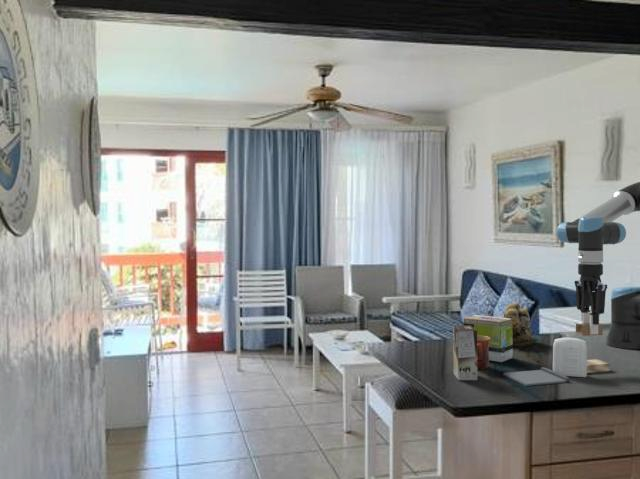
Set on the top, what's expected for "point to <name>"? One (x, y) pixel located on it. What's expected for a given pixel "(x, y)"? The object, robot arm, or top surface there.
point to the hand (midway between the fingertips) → (590, 332)
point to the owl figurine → (519, 325)
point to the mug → (482, 351)
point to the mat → (537, 377)
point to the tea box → (494, 335)
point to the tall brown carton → (583, 330)
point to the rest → (597, 366)
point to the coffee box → (465, 352)
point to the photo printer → (570, 357)
